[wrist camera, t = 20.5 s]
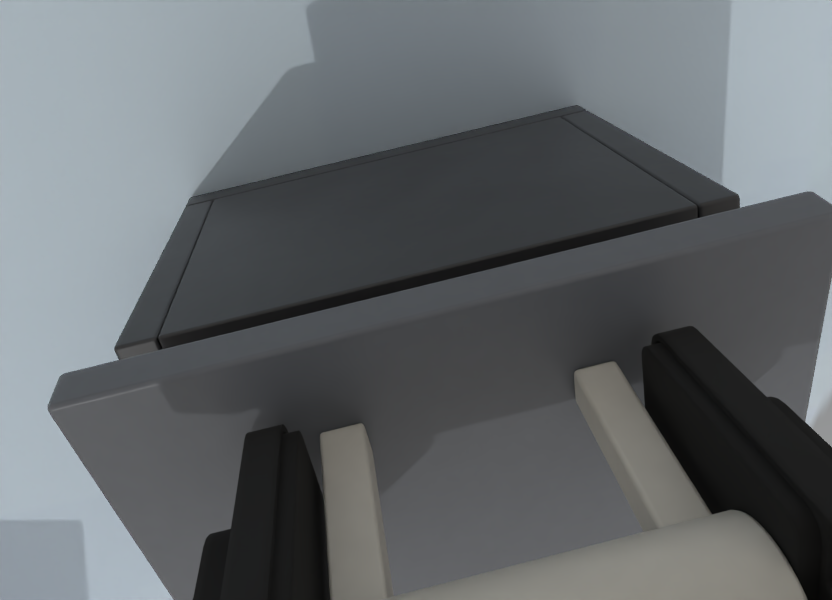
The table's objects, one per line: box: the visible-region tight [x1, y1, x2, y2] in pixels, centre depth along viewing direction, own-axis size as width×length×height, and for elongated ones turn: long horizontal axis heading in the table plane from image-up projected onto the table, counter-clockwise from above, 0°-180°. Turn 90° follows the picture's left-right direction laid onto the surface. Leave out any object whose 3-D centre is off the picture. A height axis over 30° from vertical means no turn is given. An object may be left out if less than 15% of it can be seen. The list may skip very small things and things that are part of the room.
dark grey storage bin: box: [115, 105, 740, 360], centre depth 20 cm, size 14×12×9 cm
